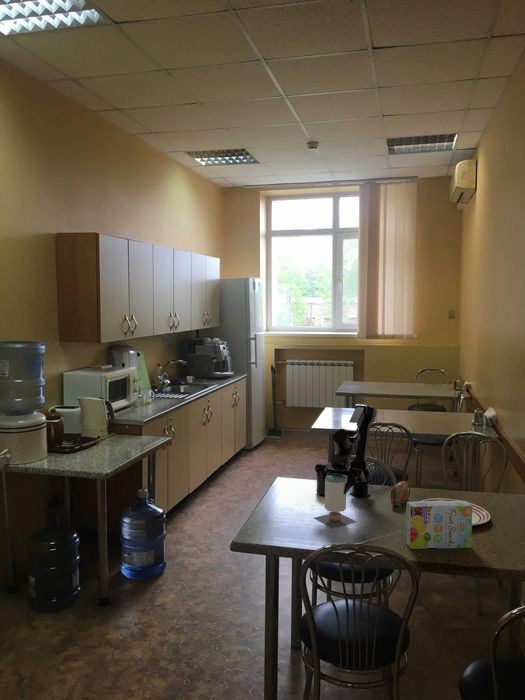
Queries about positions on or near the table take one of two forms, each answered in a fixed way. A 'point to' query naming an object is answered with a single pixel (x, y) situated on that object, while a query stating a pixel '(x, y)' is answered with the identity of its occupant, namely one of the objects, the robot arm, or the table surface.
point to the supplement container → (320, 483)
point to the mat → (332, 524)
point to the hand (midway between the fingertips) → (334, 492)
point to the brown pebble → (335, 516)
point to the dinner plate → (477, 512)
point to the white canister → (335, 493)
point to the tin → (400, 493)
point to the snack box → (438, 524)
